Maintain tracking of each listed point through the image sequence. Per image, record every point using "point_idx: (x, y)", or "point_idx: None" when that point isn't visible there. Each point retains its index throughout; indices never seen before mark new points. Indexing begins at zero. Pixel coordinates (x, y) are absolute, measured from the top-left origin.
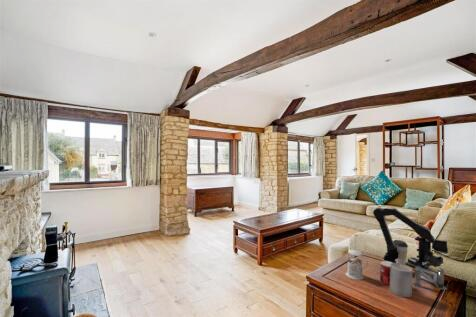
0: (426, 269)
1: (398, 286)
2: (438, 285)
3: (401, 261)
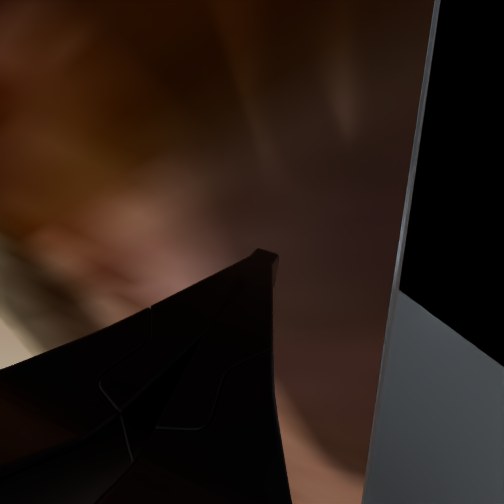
0: (401, 405)
1: None
2: None
3: None
